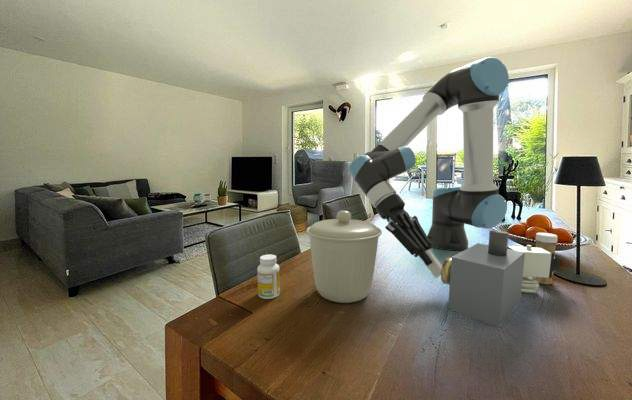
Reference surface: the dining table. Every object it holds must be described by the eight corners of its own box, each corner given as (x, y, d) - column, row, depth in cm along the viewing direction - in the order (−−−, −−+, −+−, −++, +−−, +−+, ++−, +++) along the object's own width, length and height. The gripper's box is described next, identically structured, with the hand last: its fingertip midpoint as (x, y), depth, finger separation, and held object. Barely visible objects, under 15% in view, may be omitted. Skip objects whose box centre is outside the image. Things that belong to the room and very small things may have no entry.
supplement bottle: (271, 287, 75) (270, 252, 74) (284, 294, 71) (283, 256, 70) (253, 294, 71) (252, 256, 70) (266, 301, 67) (265, 262, 66)
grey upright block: (490, 250, 67) (492, 229, 67) (508, 253, 65) (510, 231, 64) (485, 253, 65) (487, 231, 64) (503, 257, 62) (505, 234, 62)
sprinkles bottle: (540, 285, 77) (545, 236, 75) (527, 278, 81) (531, 232, 79) (556, 284, 77) (562, 236, 75) (542, 278, 81) (547, 231, 79)
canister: (324, 319, 60) (324, 220, 57) (297, 285, 77) (296, 207, 74) (395, 303, 67) (398, 214, 64) (356, 275, 83) (357, 203, 81)
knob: (440, 286, 68) (441, 260, 67) (451, 279, 72) (453, 254, 72) (483, 300, 61) (486, 271, 60) (493, 291, 65) (495, 264, 65)
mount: (447, 308, 64) (450, 256, 63) (473, 287, 75) (476, 243, 74) (499, 327, 57) (504, 269, 55) (520, 301, 68) (524, 252, 66)
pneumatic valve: (556, 296, 70) (561, 249, 68) (503, 292, 72) (507, 246, 71) (543, 287, 75) (548, 243, 74) (494, 283, 77) (497, 240, 76)
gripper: (390, 207, 87) (441, 275, 77) (363, 211, 79) (417, 289, 69) (407, 191, 83) (463, 261, 73) (380, 194, 74) (440, 274, 64)
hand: (440, 274), depth 71 cm, fingers closed
